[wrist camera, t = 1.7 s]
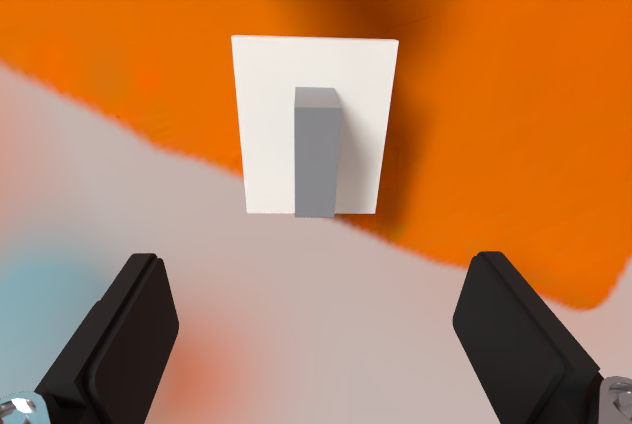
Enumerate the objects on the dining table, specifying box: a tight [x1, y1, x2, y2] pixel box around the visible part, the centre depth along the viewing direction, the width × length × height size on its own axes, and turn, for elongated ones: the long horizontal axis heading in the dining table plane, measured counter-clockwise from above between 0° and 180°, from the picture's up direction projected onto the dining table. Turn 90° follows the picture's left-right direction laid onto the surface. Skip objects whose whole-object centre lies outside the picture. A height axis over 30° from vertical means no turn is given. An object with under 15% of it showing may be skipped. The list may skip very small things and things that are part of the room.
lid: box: [231, 35, 399, 217], centre depth 20 cm, size 11×9×6 cm
